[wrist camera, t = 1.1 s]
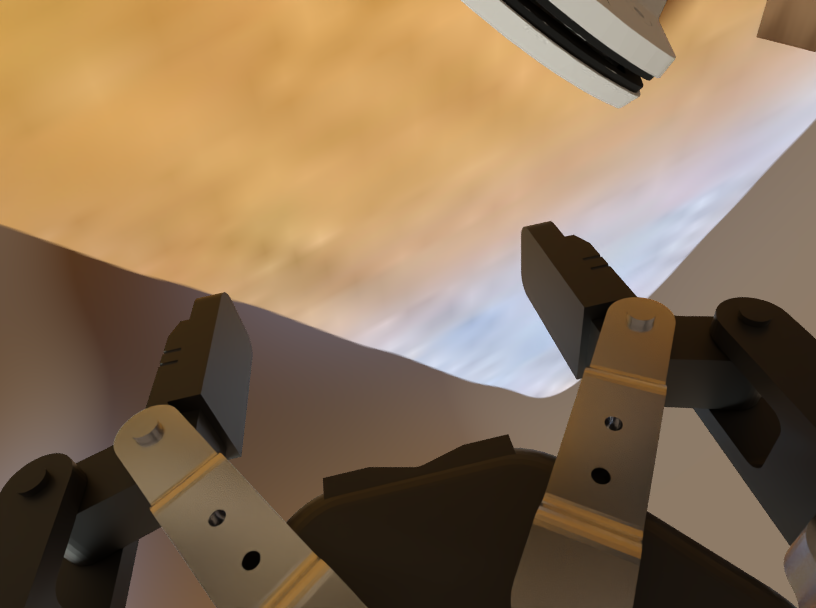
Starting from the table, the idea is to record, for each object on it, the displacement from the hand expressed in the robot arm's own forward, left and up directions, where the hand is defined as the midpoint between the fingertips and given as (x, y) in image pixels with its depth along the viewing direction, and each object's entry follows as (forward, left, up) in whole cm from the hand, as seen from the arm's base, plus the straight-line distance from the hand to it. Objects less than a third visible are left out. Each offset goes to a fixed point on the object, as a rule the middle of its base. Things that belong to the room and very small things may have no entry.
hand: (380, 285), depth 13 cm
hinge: (-4, +13, -24) cm, 27 cm away
